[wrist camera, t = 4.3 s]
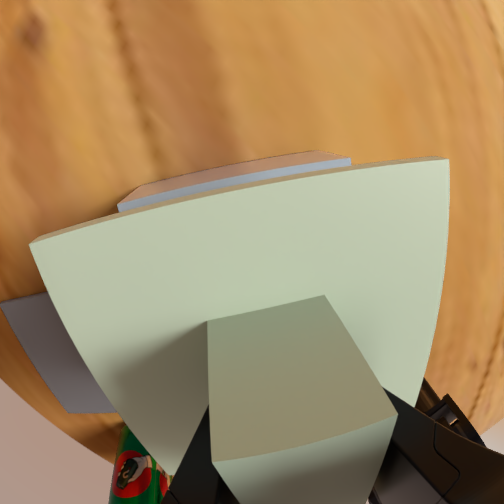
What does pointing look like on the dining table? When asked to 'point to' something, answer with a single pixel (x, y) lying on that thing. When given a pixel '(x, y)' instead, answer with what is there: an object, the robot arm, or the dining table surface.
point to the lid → (264, 320)
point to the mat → (55, 354)
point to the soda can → (136, 474)
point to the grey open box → (231, 176)
